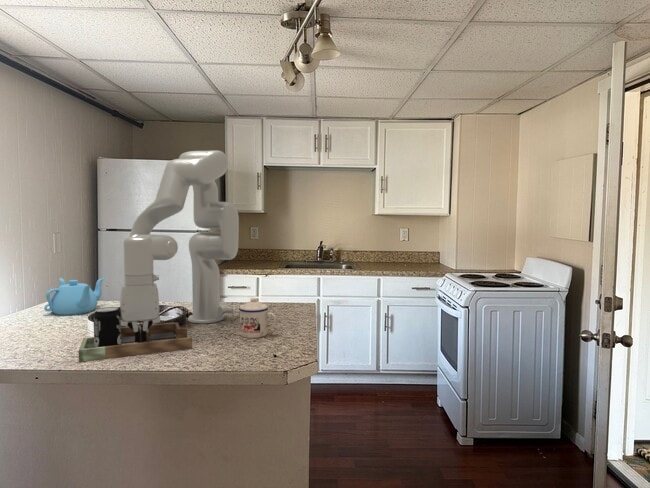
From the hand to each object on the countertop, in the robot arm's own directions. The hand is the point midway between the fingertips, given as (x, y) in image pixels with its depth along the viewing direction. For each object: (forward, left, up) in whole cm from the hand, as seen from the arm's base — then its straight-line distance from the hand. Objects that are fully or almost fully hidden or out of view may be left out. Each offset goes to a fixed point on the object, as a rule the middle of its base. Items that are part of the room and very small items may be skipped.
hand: (140, 344), depth 120 cm
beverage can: (+8, +1, -1) cm, 8 cm away
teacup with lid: (-34, 0, -1) cm, 34 cm away
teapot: (+22, -59, -1) cm, 63 cm away
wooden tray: (+1, -4, -1) cm, 4 cm away
